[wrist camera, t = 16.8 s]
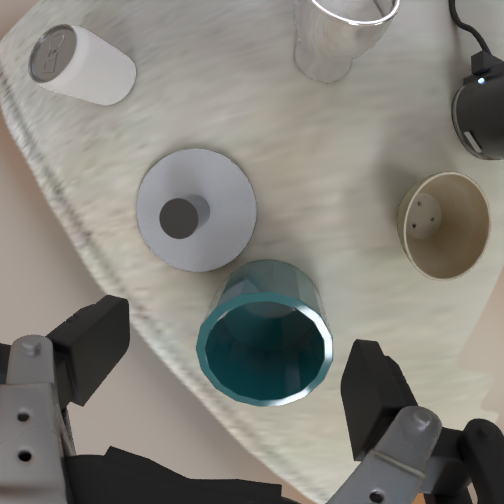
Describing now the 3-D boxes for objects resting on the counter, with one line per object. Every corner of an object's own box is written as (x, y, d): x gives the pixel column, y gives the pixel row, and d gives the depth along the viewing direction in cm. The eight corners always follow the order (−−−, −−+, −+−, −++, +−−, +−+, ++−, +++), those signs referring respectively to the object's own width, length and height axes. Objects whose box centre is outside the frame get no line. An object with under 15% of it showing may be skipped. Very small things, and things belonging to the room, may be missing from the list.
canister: (208, 265, 35) (184, 299, 26) (316, 253, 33) (330, 285, 24) (225, 357, 37) (211, 407, 28) (322, 349, 36) (333, 400, 27)
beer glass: (331, 100, 29) (370, 48, 15) (276, 61, 29) (273, -13, 14) (367, 56, 28) (420, -9, 13) (314, 19, 27) (333, -64, 13)
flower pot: (362, 231, 32) (382, 246, 25) (408, 152, 30) (438, 149, 23) (427, 276, 33) (456, 299, 26) (469, 203, 30) (505, 212, 24)
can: (144, 55, 29) (90, 16, 18) (129, 108, 31) (67, 87, 19) (98, 55, 29) (38, 24, 18) (84, 104, 31) (17, 88, 20)
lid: (132, 161, 33) (104, 161, 27) (248, 140, 31) (241, 132, 25) (152, 273, 36) (129, 293, 30) (264, 262, 34) (261, 282, 28)
